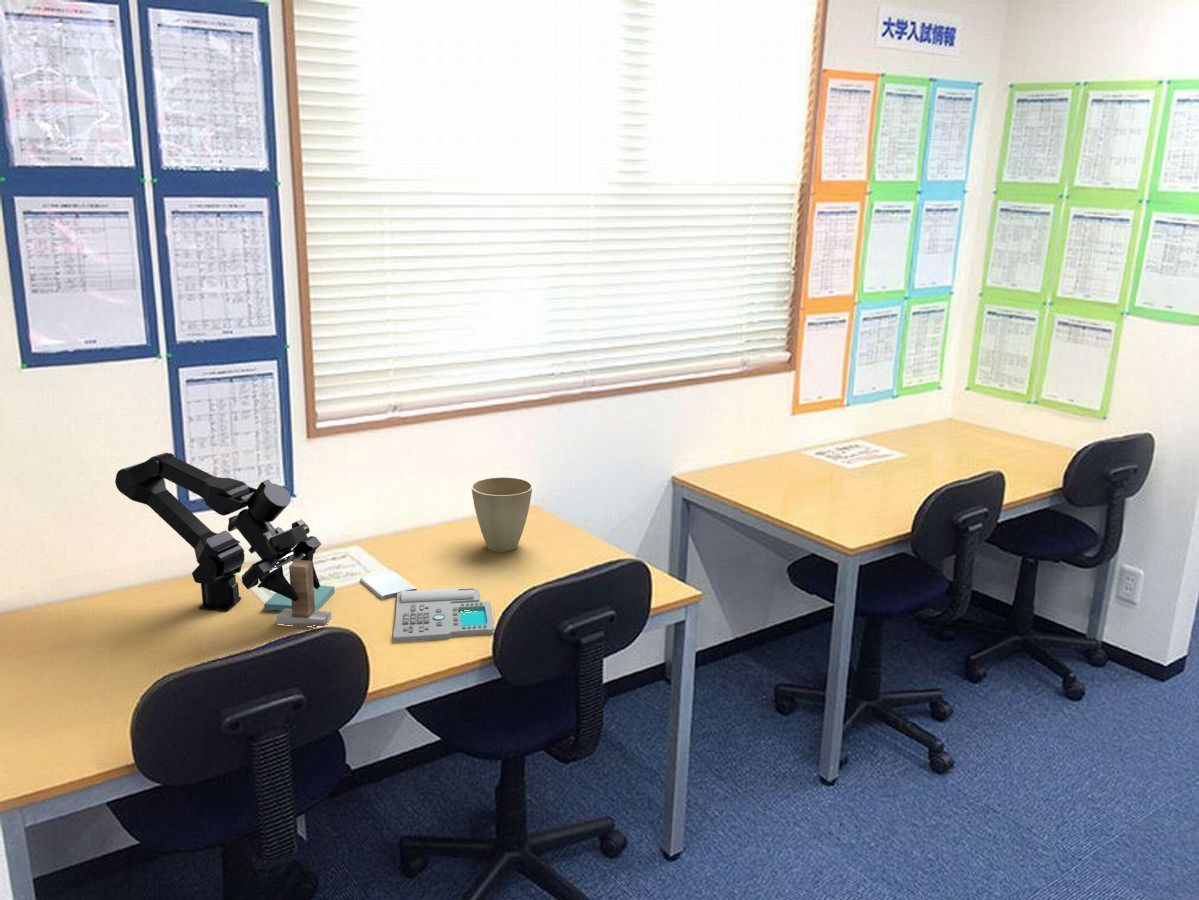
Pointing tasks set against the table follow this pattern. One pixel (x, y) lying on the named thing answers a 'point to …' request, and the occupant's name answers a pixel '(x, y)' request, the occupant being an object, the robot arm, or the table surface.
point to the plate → (283, 602)
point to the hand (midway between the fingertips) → (308, 593)
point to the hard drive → (387, 584)
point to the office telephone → (441, 614)
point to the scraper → (303, 599)
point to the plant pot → (501, 510)
